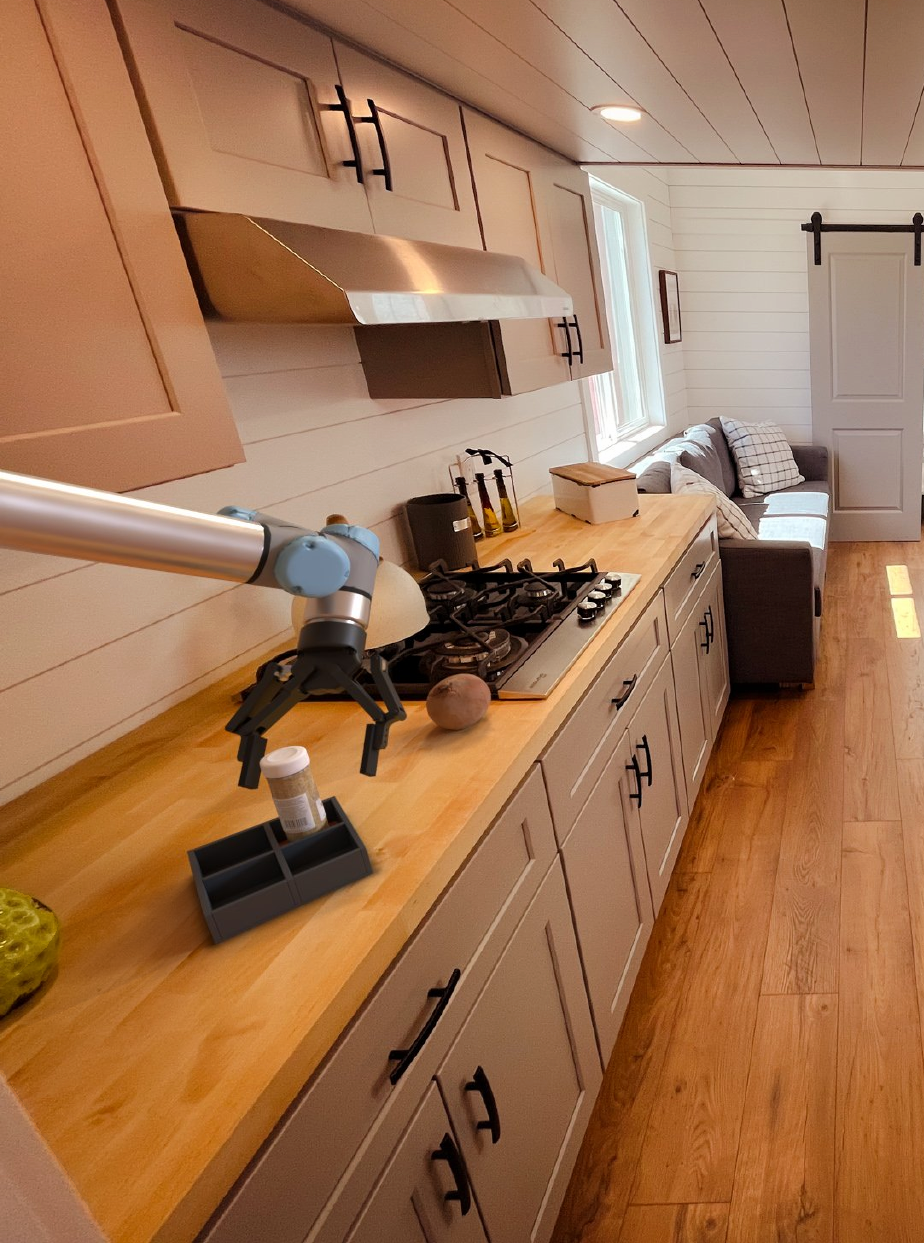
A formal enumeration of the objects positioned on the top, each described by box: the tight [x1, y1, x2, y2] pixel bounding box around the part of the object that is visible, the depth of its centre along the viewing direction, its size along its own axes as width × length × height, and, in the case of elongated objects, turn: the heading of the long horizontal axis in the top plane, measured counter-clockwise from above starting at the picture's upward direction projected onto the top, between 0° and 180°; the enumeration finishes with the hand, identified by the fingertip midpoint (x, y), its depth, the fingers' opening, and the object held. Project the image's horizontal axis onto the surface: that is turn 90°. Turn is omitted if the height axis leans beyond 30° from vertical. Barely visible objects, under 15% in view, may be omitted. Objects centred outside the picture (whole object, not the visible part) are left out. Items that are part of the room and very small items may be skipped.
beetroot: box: [425, 673, 492, 731], centre depth 119 cm, size 10×9×10 cm
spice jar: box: [260, 745, 329, 843], centre depth 89 cm, size 5×5×14 cm
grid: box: [186, 795, 374, 946], centre depth 86 cm, size 15×15×4 cm
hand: (308, 781), depth 91 cm, fingers open, 13 cm apart
